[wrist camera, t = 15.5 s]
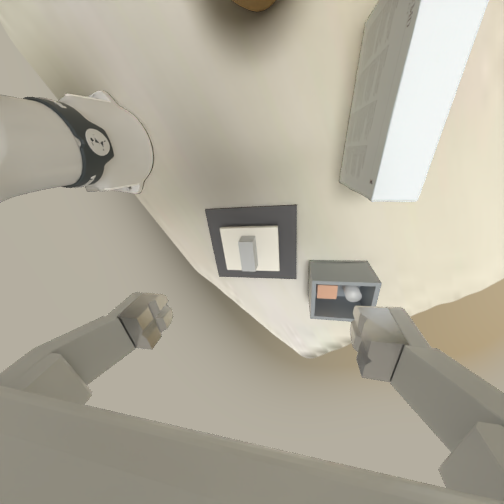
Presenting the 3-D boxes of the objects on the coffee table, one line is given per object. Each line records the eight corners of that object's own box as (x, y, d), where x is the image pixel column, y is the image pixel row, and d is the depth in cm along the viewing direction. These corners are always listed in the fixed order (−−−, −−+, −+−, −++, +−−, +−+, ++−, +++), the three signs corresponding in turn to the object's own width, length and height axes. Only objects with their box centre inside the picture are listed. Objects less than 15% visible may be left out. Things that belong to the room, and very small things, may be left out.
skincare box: (370, 182, 35) (418, 204, 21) (338, 182, 36) (364, 203, 22) (410, 12, 25) (549, -153, 11) (365, 19, 26) (441, -124, 12)
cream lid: (230, 264, 49) (222, 277, 44) (223, 224, 44) (214, 234, 39) (280, 265, 46) (278, 279, 41) (278, 223, 41) (276, 233, 36)
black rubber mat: (219, 275, 52) (219, 276, 51) (205, 209, 44) (205, 209, 43) (296, 277, 47) (296, 279, 47) (296, 204, 39) (296, 205, 39)
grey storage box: (308, 294, 49) (310, 318, 42) (309, 260, 44) (312, 280, 37) (360, 297, 46) (371, 323, 39) (367, 261, 42) (381, 283, 35)
